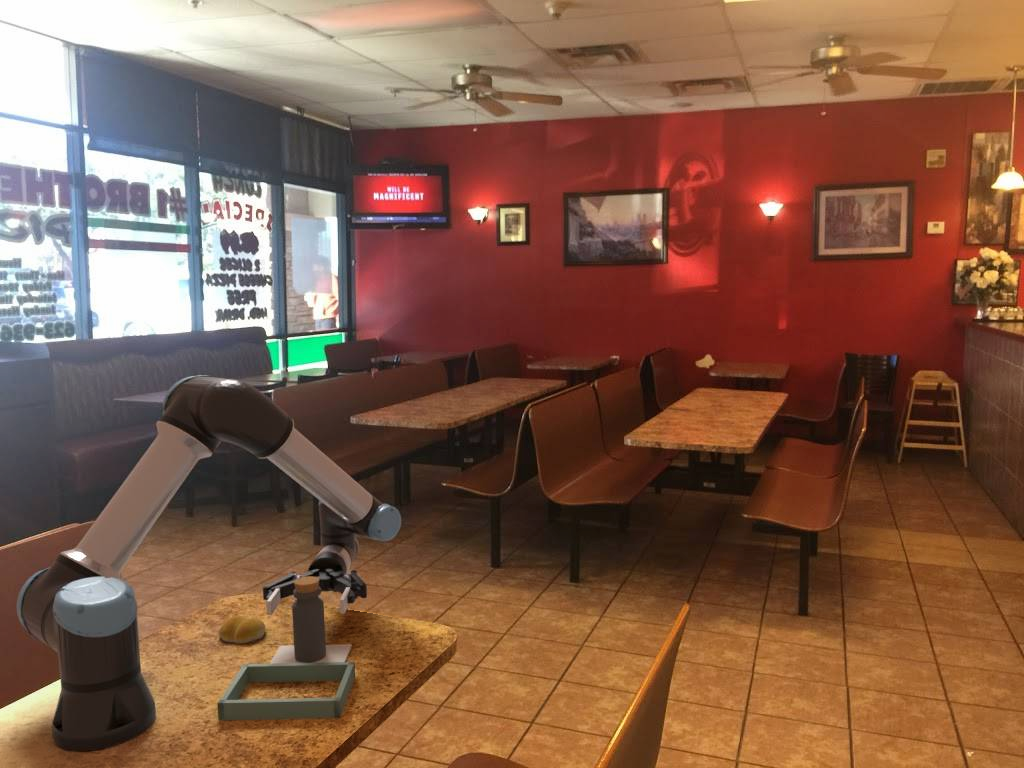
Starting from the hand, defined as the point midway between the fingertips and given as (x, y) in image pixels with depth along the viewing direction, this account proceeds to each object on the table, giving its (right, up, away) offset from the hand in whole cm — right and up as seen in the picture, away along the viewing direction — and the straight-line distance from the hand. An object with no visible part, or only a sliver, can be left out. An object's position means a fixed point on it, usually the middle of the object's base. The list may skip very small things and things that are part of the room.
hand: (305, 607), depth 155 cm
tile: (0, -11, +4) cm, 11 cm away
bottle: (0, -10, +4) cm, 11 cm away
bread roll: (-17, -10, +15) cm, 25 cm away
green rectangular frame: (0, -13, -11) cm, 17 cm away
